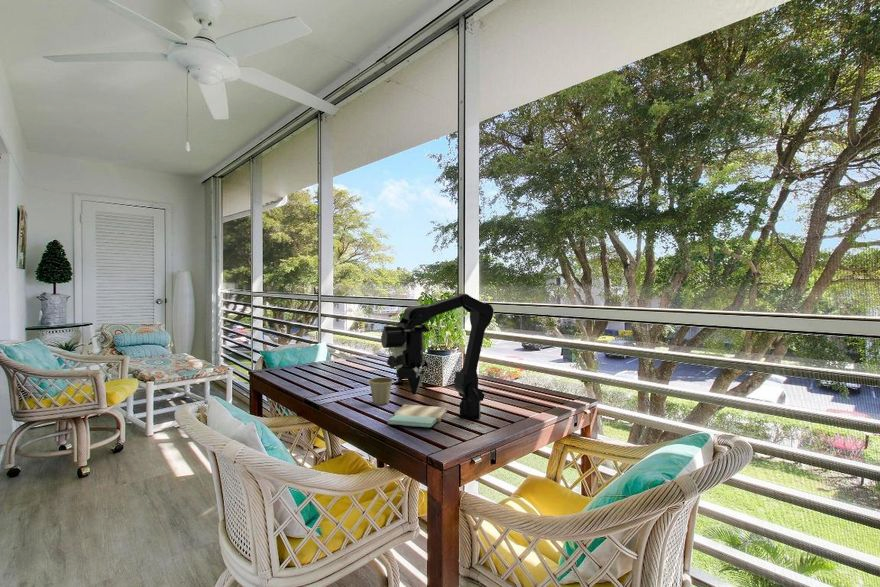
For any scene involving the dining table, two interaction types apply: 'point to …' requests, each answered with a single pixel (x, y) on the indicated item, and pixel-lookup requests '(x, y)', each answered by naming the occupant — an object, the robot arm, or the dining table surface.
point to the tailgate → (412, 421)
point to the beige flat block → (422, 411)
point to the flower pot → (380, 390)
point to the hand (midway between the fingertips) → (414, 394)
